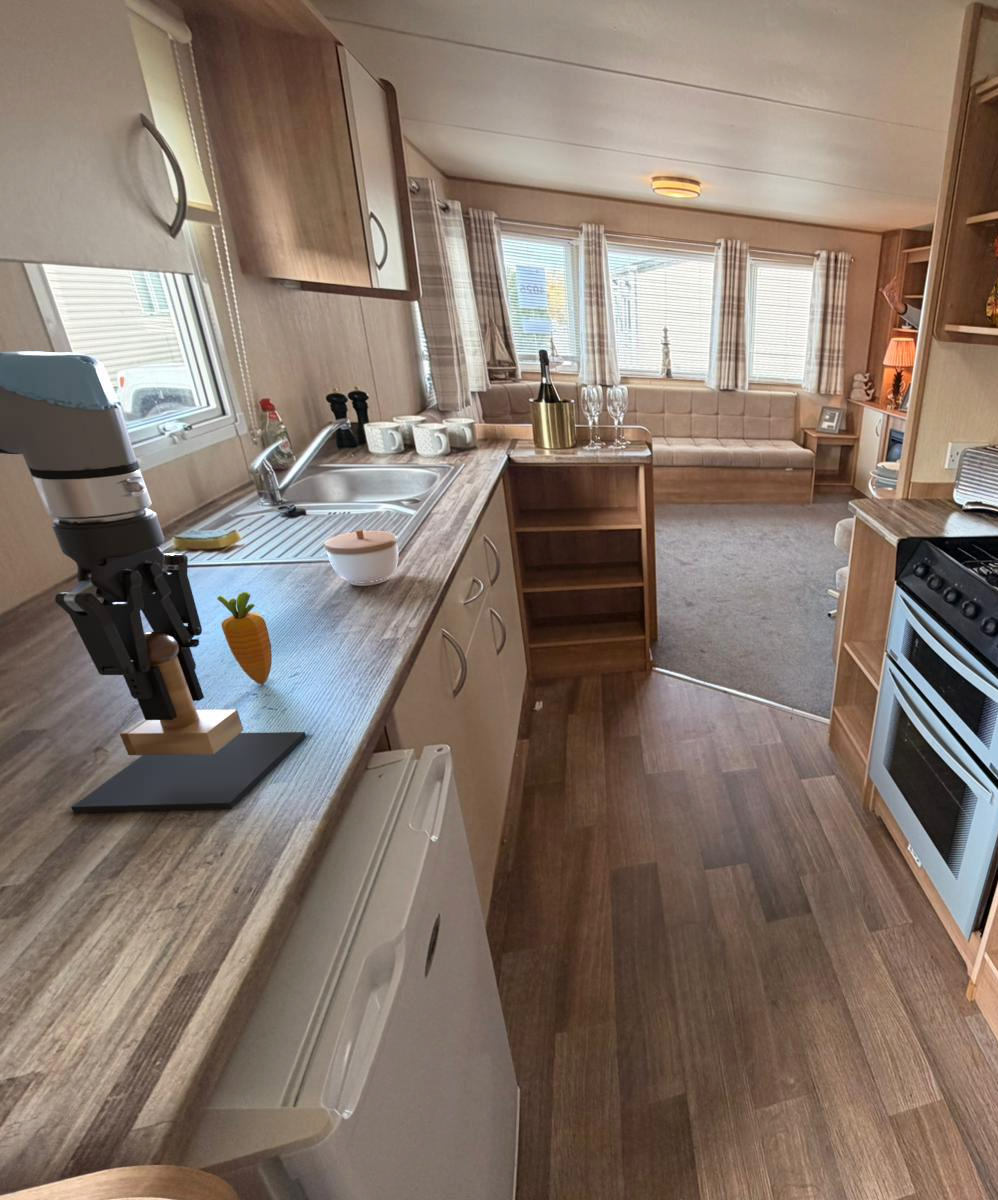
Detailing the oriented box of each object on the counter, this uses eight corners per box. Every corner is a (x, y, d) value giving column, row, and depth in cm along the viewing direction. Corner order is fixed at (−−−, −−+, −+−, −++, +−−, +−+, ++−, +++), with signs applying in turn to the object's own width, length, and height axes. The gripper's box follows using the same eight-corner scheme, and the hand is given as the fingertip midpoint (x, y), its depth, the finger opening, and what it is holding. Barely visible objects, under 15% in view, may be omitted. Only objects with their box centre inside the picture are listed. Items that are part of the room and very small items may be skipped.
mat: (73, 812, 70) (70, 807, 70) (174, 738, 83) (172, 733, 83) (231, 808, 72) (229, 803, 72) (306, 736, 85) (304, 731, 85)
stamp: (128, 755, 73) (81, 643, 68) (163, 730, 78) (122, 623, 72) (214, 754, 74) (175, 643, 69) (244, 730, 79) (209, 624, 73)
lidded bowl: (329, 576, 136) (317, 527, 132) (396, 566, 144) (387, 519, 140) (339, 595, 127) (326, 542, 123) (410, 582, 135) (400, 533, 131)
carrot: (232, 688, 95) (201, 596, 89) (267, 673, 99) (240, 584, 93) (257, 695, 93) (227, 601, 88) (291, 679, 98) (265, 589, 92)
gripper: (68, 538, 58) (153, 750, 67) (204, 495, 73) (258, 673, 82) (-26, 535, 57) (72, 751, 66) (131, 493, 72) (194, 673, 81)
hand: (175, 708), depth 74 cm, fingers closed on stamp, 3 cm apart
